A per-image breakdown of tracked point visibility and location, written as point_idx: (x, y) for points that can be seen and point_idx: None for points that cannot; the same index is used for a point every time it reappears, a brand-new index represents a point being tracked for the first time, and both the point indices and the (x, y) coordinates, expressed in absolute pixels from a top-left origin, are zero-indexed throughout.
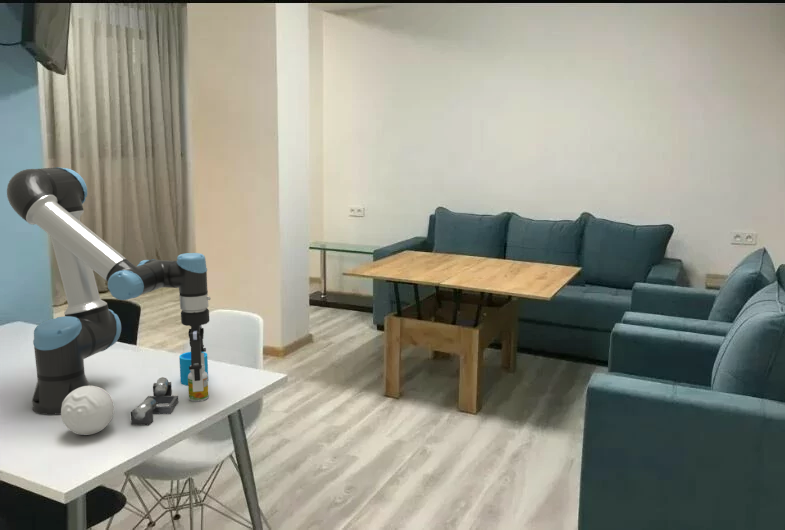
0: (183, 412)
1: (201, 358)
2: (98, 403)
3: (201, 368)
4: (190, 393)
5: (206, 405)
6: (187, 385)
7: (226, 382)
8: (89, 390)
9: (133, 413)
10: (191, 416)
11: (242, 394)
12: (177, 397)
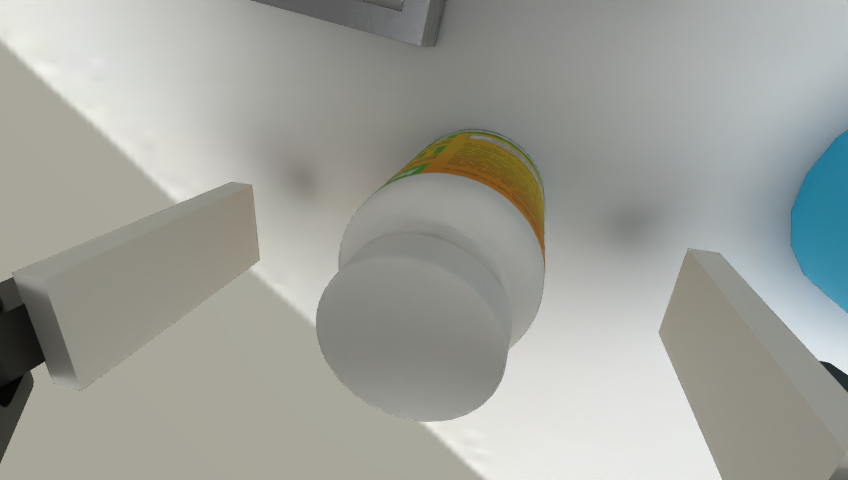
0: (253, 81)
1: (741, 460)
2: None
3: (53, 375)
4: (421, 152)
5: (340, 226)
6: (843, 134)
7: None
8: None
9: None
10: (194, 128)
11: (458, 420)
12: (396, 39)
